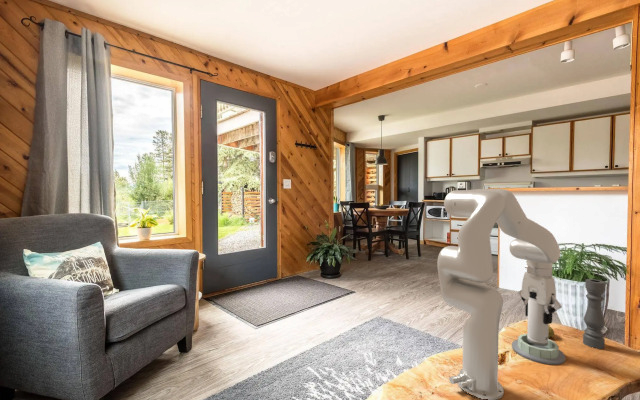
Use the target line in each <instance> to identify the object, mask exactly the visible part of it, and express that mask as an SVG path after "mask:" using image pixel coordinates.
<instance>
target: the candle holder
mask: <svg viewBox="0 0 640 400" xmlns="http://www.w3.org/2000/svg"><path fill="white" fill-rule="evenodd" d="M584 287H585V291H587V294H586V295H585V297H586V298H587V308H586V311H585V313H584V317H583V322H584V323H585V325H586V328H585V329H584V331H583V332H584V333H583V334H582V343H583V344H584V345H585V346H586V345H587V346H586V347H589V348H592V347H593V348H592V349H595V348H597V350H604V349H605V343H606V342H605V340H606V339H605V338H604V337H605V334H604V333H603V332H602V331H603V328H604V327H605V326H606V325H605V324H606V322H605V321H606V320H605V318H604V314H603V310H602V303H603V301H604V300H605V297H603V294H605V292H606V282H605V280H604V281H603V280H600V279H594V278H586V279H585V285H584ZM603 348H604V349H603Z"/></svg>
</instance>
